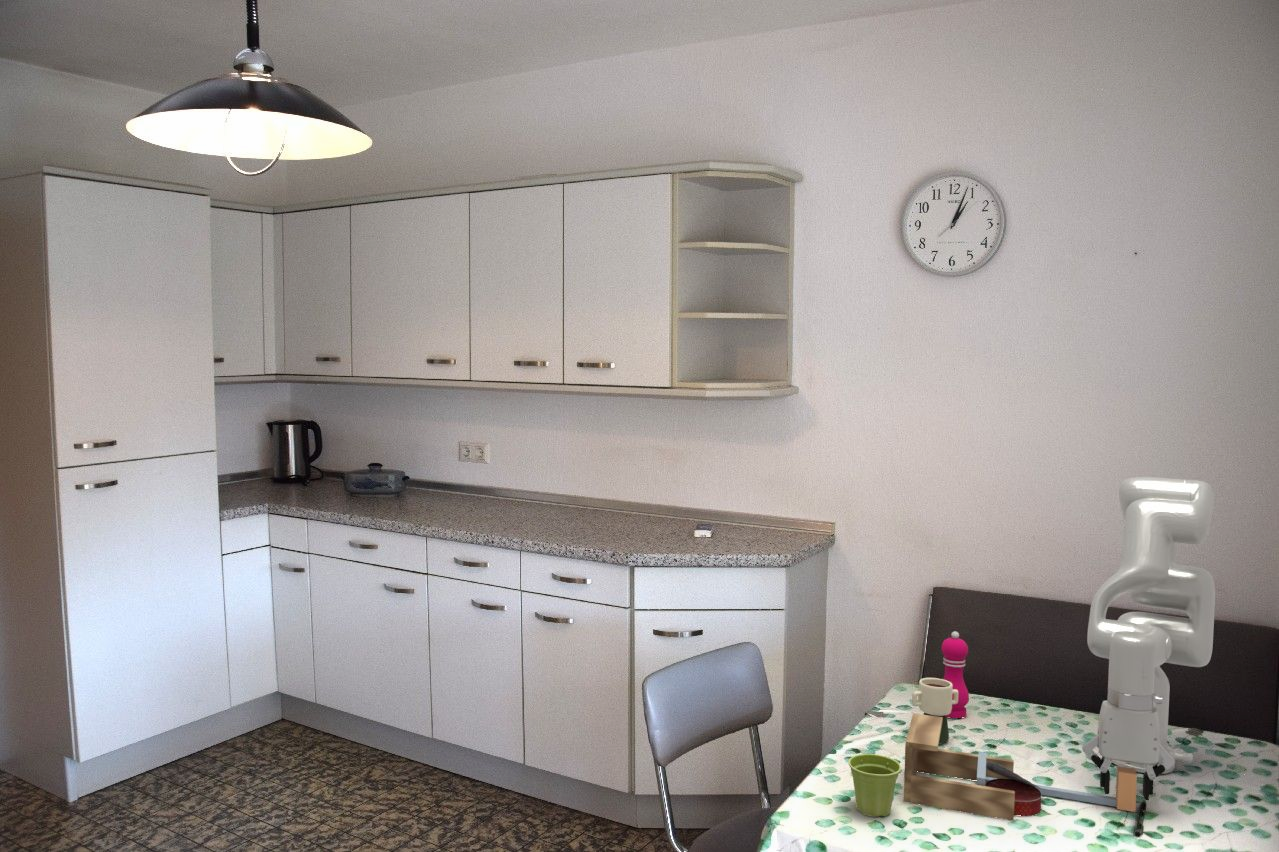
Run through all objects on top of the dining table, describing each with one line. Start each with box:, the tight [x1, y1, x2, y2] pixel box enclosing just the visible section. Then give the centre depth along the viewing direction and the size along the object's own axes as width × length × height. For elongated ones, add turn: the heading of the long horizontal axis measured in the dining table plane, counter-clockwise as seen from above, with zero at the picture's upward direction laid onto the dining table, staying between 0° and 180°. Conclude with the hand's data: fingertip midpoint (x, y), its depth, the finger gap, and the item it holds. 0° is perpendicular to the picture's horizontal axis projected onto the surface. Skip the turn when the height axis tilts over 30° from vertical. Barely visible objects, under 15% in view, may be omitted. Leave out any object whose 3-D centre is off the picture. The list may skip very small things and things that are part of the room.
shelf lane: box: [902, 712, 1015, 822], centre depth 180 cm, size 19×16×12 cm
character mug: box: [911, 677, 958, 744], centre depth 207 cm, size 11×7×13 cm, turn 101°
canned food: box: [985, 762, 1043, 817], centre depth 176 cm, size 11×10×10 cm
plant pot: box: [847, 753, 902, 818], centre depth 172 cm, size 9×9×9 cm
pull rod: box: [976, 751, 1138, 813], centre depth 175 cm, size 28×14×7 cm, turn 69°
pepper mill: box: [941, 630, 970, 719], centre depth 223 cm, size 7×7×20 cm
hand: (1125, 793), depth 175 cm, fingers open, 6 cm apart
